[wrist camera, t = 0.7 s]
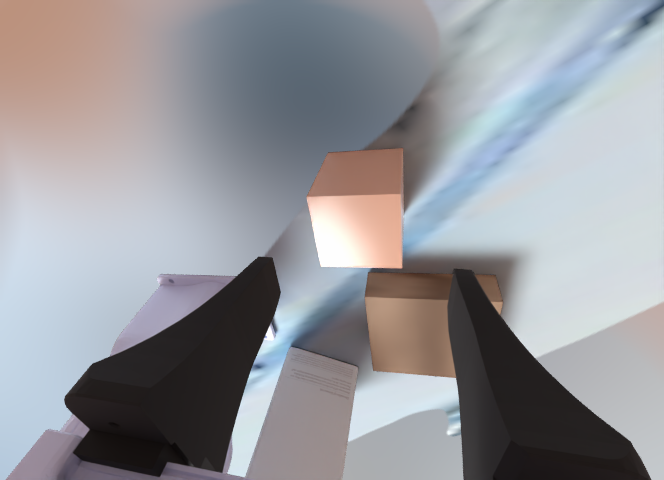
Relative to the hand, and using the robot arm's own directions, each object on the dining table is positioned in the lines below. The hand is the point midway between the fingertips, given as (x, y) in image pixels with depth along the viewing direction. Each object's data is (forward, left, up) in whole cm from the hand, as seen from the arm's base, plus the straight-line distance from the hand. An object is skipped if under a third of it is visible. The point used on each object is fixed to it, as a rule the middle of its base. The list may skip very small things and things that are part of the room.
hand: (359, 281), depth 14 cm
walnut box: (+3, -13, -10) cm, 16 cm away
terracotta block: (-1, -1, -10) cm, 10 cm away
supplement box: (-8, -23, -10) cm, 26 cm away
